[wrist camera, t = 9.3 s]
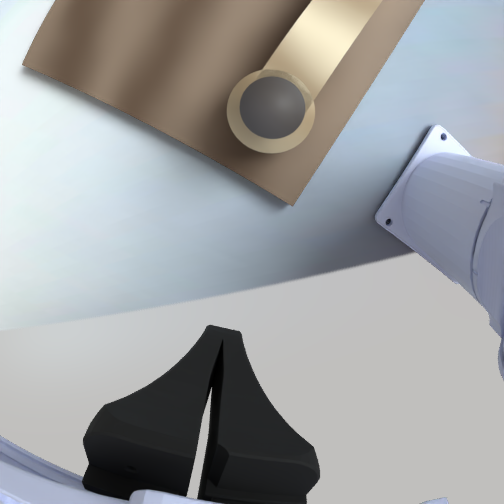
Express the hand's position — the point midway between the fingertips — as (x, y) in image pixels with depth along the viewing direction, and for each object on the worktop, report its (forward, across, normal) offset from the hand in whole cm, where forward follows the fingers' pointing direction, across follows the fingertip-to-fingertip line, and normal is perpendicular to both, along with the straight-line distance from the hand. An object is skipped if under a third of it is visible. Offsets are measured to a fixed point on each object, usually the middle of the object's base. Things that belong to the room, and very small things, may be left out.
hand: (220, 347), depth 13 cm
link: (+8, -2, -16) cm, 18 cm away
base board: (+9, +4, -20) cm, 22 cm away
